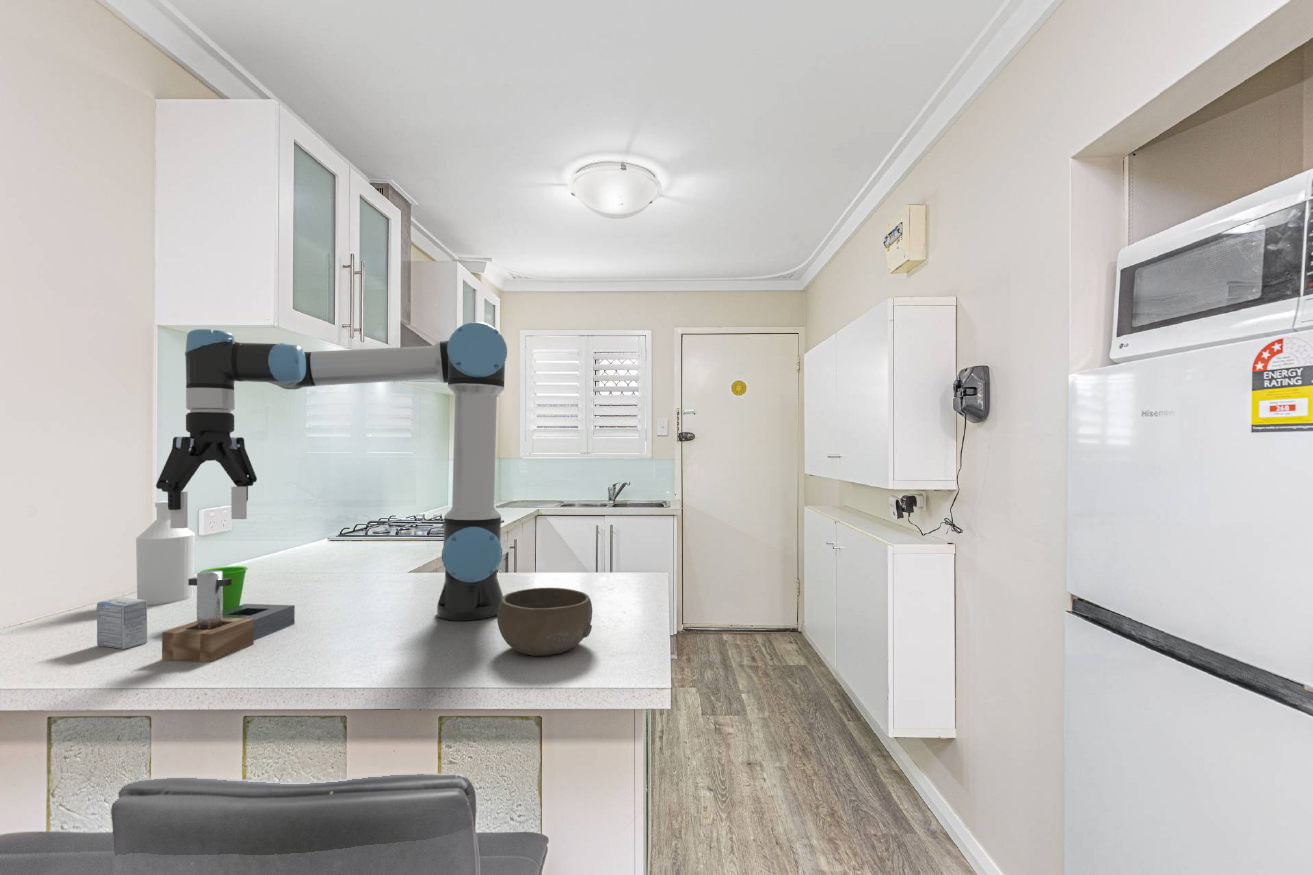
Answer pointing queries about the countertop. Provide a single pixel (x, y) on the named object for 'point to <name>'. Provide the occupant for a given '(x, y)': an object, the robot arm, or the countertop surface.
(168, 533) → the bottle
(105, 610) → the medicine box
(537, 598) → the bowl
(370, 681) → the countertop surface
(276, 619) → the block
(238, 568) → the cup
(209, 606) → the key
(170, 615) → the countertop surface
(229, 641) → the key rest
